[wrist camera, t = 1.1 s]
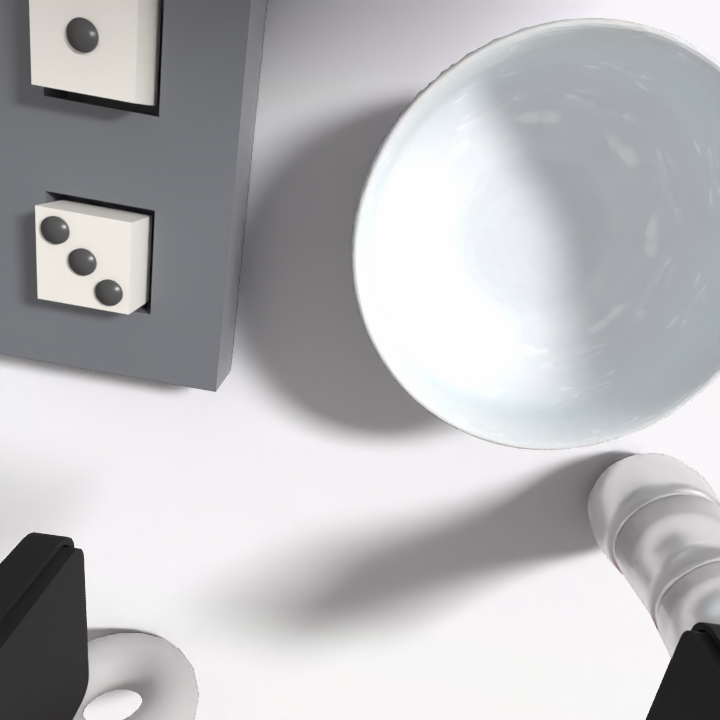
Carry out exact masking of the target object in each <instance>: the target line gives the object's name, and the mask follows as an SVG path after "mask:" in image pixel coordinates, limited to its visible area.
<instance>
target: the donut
mask: <svg viewBox="0 0 720 720" xmlns="http://www.w3.org/2000/svg"><path fill="white" fill-rule="evenodd" d="M88 662H89V682H88V687H87V690H86V694H85V696H84V699H83V701H82V703H81V705H80V707H79V709H78V711H77V713H76V715H75V716H74V718H73V720H85V719H84V717H83V712H84V709H85V707H86V706H87V705H88V704H89V703H90V702H91V701H93V700H94V699H95V698H96V697H98V696H100V695H102V694H104V693H106V692H109V691H113V690H117V689H127V690H131V691H134V692H137V693H138V694H139V695H140V696H141V698H142V704H141V706H140V707H139V709H138V710H137V711H135V712H134V713H133V714H132V715H131V716H129V717H127V718H125V719H124V720H195V715H196V709H197V703H198V697H199V691H198V686H197V682H196V677H195V672H194V668H193V667H192V665H191V664H190V662H189V661H188V660H187V658H186V657H185V655H184V654H183V653H182V651H181V650H180V649H178V648H177V647H175V646H174V645H172V644H171V643H169V642H168V641H166V640H165V639H163V638H159V637H156V636H152V635H148V634H145V633H118V634H113V635H109V636H104V637H100V638H96V639H94V640H92V641H89V642H88Z"/></svg>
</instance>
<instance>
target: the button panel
mask: <svg viewBox="0 0 720 720" xmlns="http://www.w3.org/2000/svg"><path fill="white" fill-rule="evenodd" d="M266 8H267V0H162V3H161V26H160V50H159V74H158V97H157V106H152V105H144V104H136V103H130V102H125V101H119V100H114V99H109V98H103V97H98V96H92V95H87V94H81V93H76V92H71V91H65V90H60V89H54V88H49V87H43V86H38V85H32V84H31V50H30V16H29V0H0V354H4V355H9V356H15V357H21V358H26V359H32V360H38V361H44V362H49V363H55V364H61V365H66V366H72V367H78V368H83V369H89V370H95V371H100V372H106V373H112V374H117V375H123V376H129V377H135V378H140V379H146V380H152V381H157V382H163V383H169V384H174V385H180V386H186V387H191V388H197V389H203V390H208V391H214V392H216V391H217V389H218V388H219V386H220V385H221V383H222V382H223V380H224V379H225V378H226V376H227V375H228V373H229V372H230V370H231V362H232V352H233V342H234V332H235V322H236V311H237V301H238V291H239V281H240V271H241V261H242V251H243V241H244V231H245V220H246V210H247V200H248V190H249V180H250V170H251V160H252V150H253V140H254V129H255V119H256V109H257V99H258V89H259V79H260V69H261V59H262V49H263V39H264V28H265V18H266ZM60 200H68V201H74V202H79V203H85V204H90V205H96V206H102V207H107V208H113V209H118V210H124V211H129V212H135V213H140V214H146V215H151V216H152V240H151V263H150V287H149V301H148V302H147V303H145V304H144V305H142V306H141V307H139V308H138V309H136V310H135V311H133V312H132V313H131V314H129V315H128V314H122V313H117V312H111V311H106V310H100V309H94V308H89V307H83V306H77V305H72V304H66V303H60V302H55V301H49V300H44V299H38V292H37V257H36V223H35V205H39V204H44V203H49V202H55V201H60Z"/></svg>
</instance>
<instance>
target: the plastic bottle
mask: <svg viewBox="0 0 720 720" xmlns="http://www.w3.org/2000/svg"><path fill="white" fill-rule="evenodd" d="M588 516H589V521H590V525H591V529H592V533H593V536H594V538H595V540H596V543H597V545H598V546H599V547H600V548H601V550H602V551H603V552H604V554H605V555H606V556H607V558H608V559H609V560H610V561H611V563H612V564H613V565H614V566H615V567H616V568H617V569H618V570H619V571H620V572H621V574H623V575H624V577H625V578H626V580H627V581H628V582H629V584H630V585H631V587H632V588H633V590H634V591H635V593H636V594H637V596H638V597H639V599H640V600H641V601H642V603H643V604H644V606H645V607H646V609H647V610H648V612H649V613H650V615H651V617H652V619H653V621H654V623H655V626H656V628H657V630H658V631H659V634H660V636H661V638H662V640H663V642H664V644H665V646H666V648H667V650H668V652H669V655H670V657H671V658H672V656H673V654H674V651H675V649H676V646H677V644H678V642H679V639H680V637H681V635H682V634H683V632H685V631H686V630H689V631H690V630H691V629H692V627H693V626H694V625H695V624H696V623H698V622H705V623H712V624H720V500H719V499H718V497H717V496H716V494H715V493H714V491H713V489H712V488H711V486H710V485H709V484H708V482H707V481H706V479H705V478H704V477H703V476H701V475H700V474H699V473H698V472H697V471H695V470H694V469H692V468H691V467H689V466H688V465H686V464H685V463H683V462H682V461H680V460H678V459H676V458H674V457H671V456H668V455H664V454H656V453H648V454H637V455H633V456H629V457H626V458H623V459H621V460H619V461H617V462H615V463H614V464H612V465H611V466H609V467H608V468H607V469H606V470H605V471H604V472H603V473H602V474H601V475H600V477H599V478H598V479H597V481H596V483H595V484H594V486H593V488H592V490H591V492H590V496H589V499H588Z"/></svg>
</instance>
